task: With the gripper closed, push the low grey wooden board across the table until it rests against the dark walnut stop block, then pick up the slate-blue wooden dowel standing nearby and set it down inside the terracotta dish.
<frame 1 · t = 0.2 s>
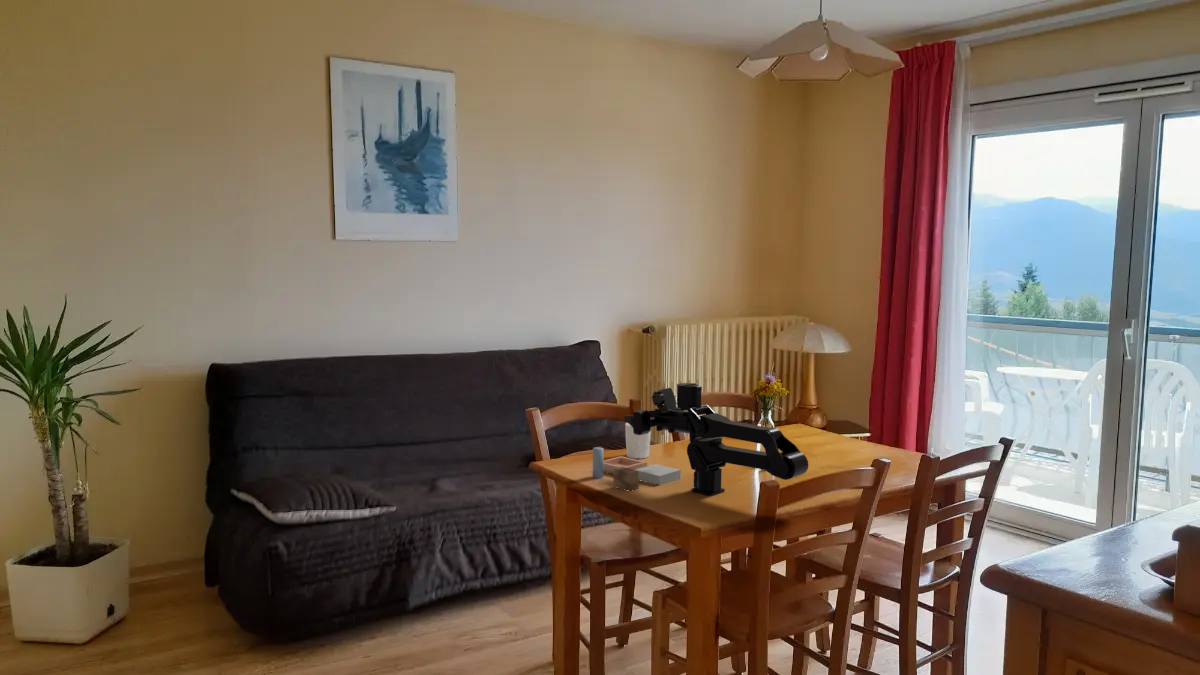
hand: (635, 415, 229), 17 cm above the table, tool horizontal, fingers open, 9 cm apart
plate: (657, 480, 224), on the table
stop block: (625, 488, 215), on the table
dowel: (598, 476, 226), on the table
white cup: (637, 456, 250), on the table
tray: (622, 470, 233), on the table
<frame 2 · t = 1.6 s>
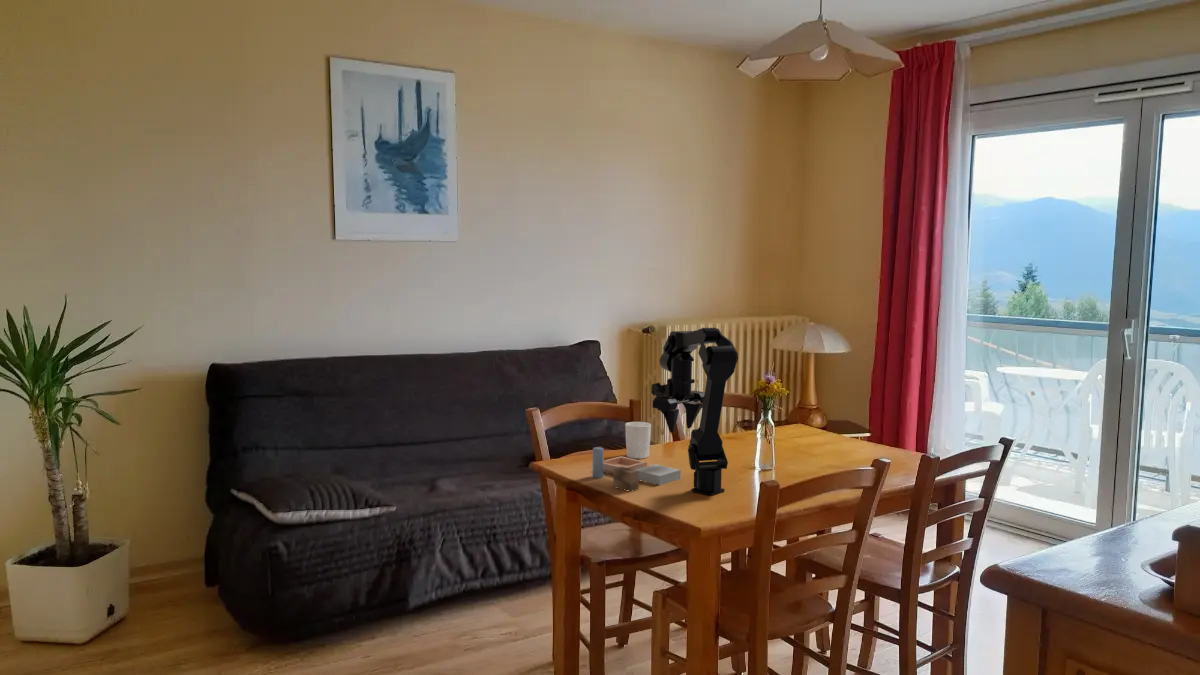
hand: (680, 430, 230), 12 cm above the table, tool pointing down, fingers open, 8 cm apart
nothing on the table moved.
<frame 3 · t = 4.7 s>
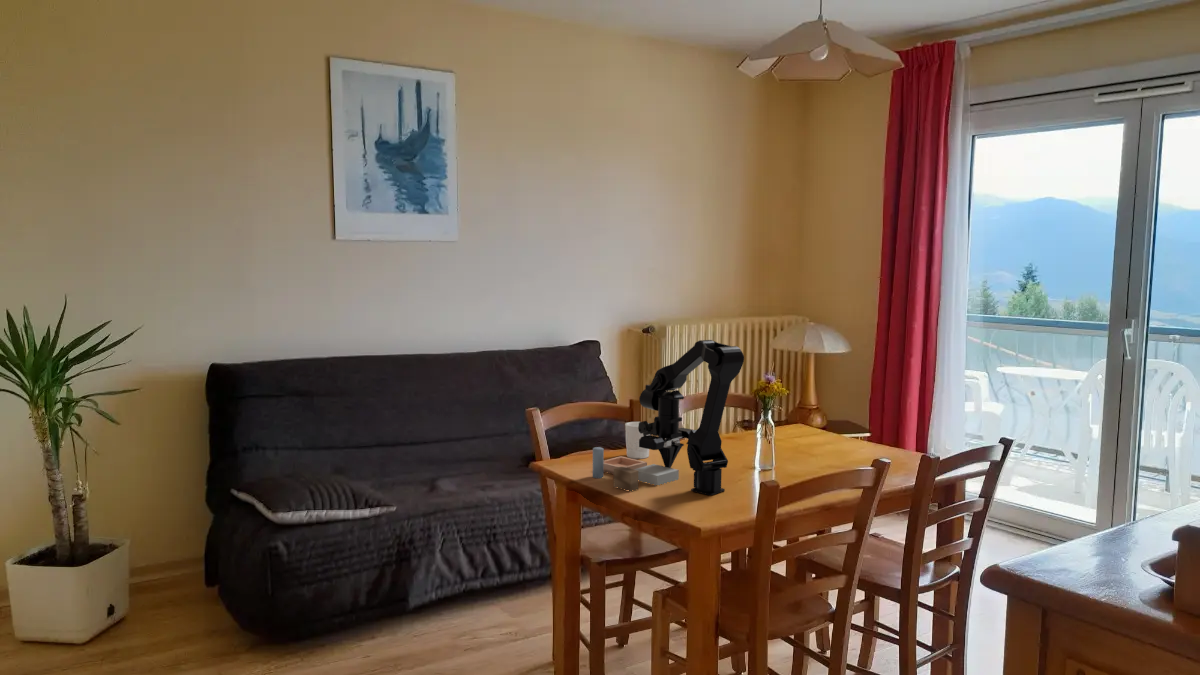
hand: (667, 468, 227), 2 cm above the table, tool pointing down, fingers closed
plate: (655, 480, 224), on the table, touching gripper
everything else where it was.
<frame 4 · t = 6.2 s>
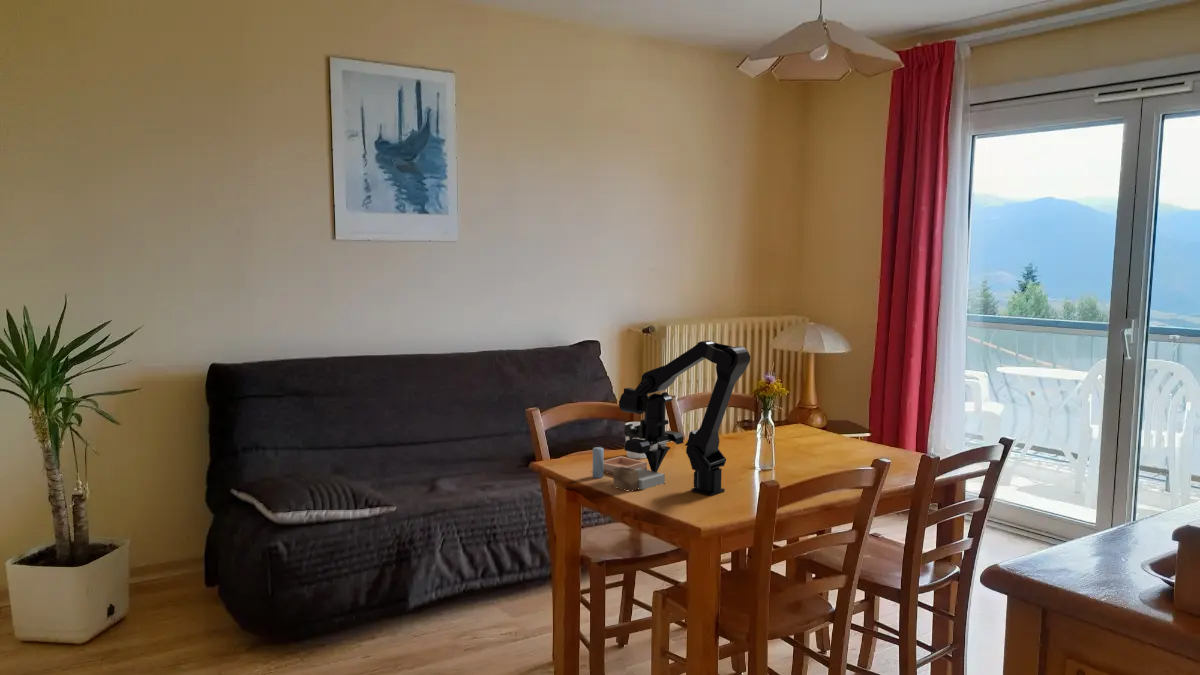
hand: (654, 472, 223), 2 cm above the table, tool pointing down, fingers closed
plate: (640, 485, 220), on the table
everything else where it was.
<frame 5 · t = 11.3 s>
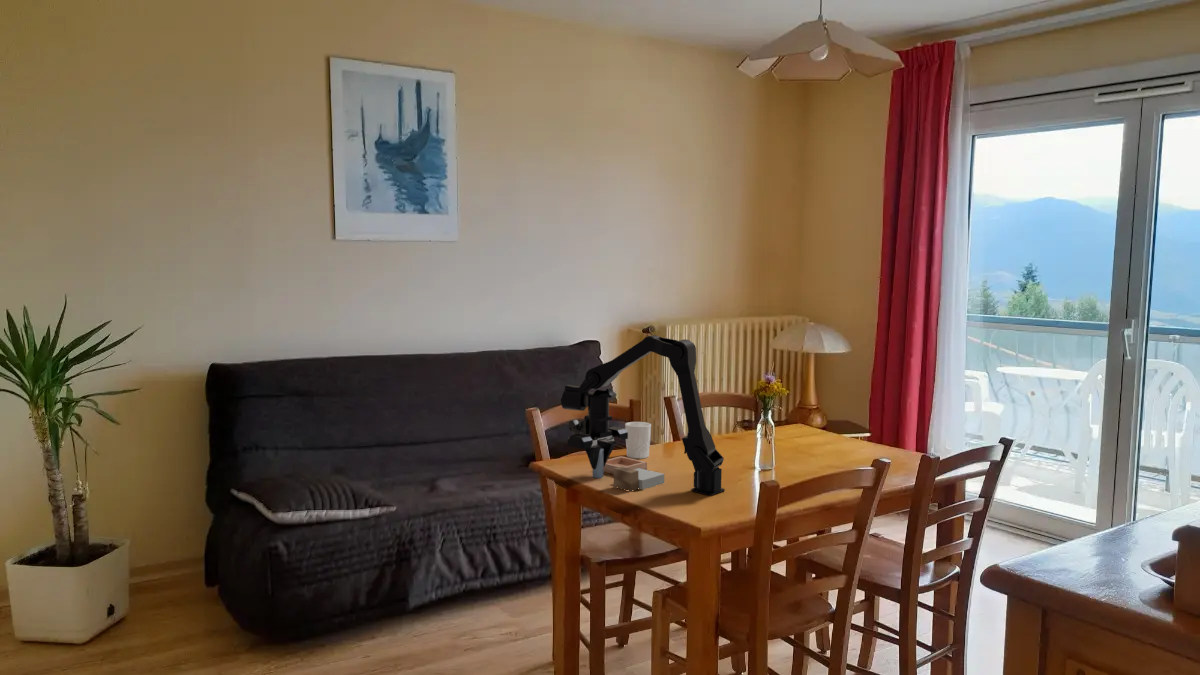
hand: (598, 467, 226), 3 cm above the table, tool pointing down, fingers closed on dowel, 3 cm apart
dowel: (597, 476, 226), on the table, touching gripper
everything else where it was.
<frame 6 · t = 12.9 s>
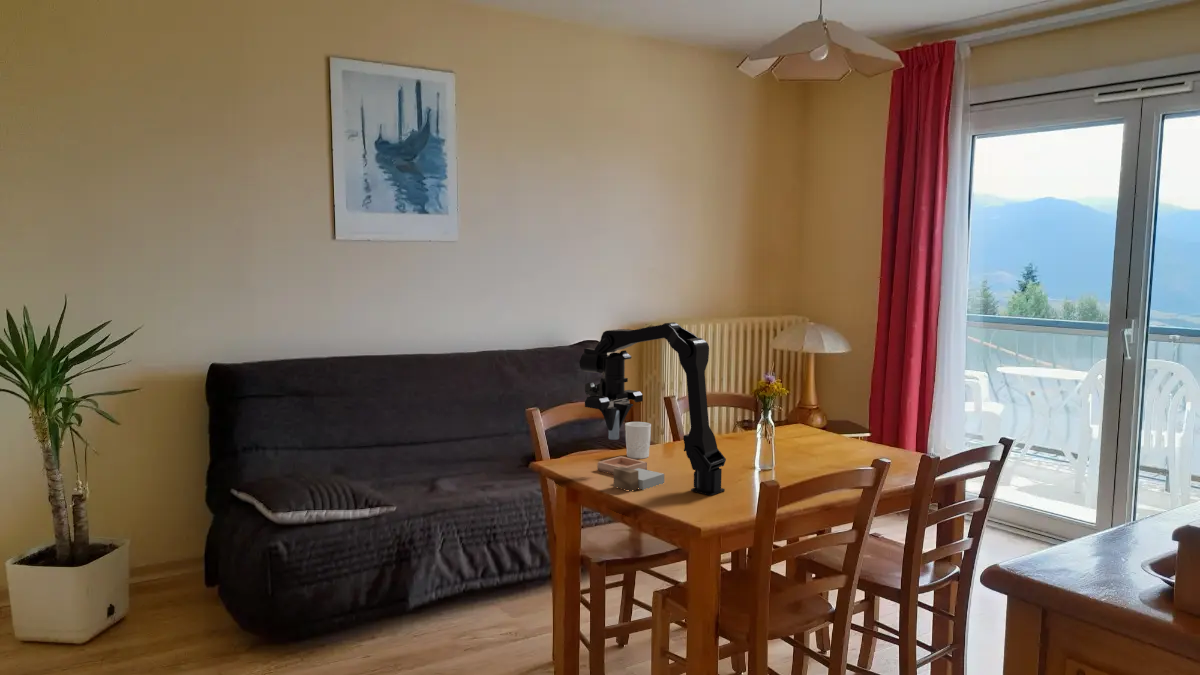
hand: (614, 429, 229), 12 cm above the table, tool pointing down, fingers closed on dowel, 3 cm apart
dowel: (613, 438, 229), point 10 cm above the table, touching gripper
everything else where it was.
when the fingers open (5 cm above the table, at t = 14.8 s): dowel drops 2 cm, resting on tray.
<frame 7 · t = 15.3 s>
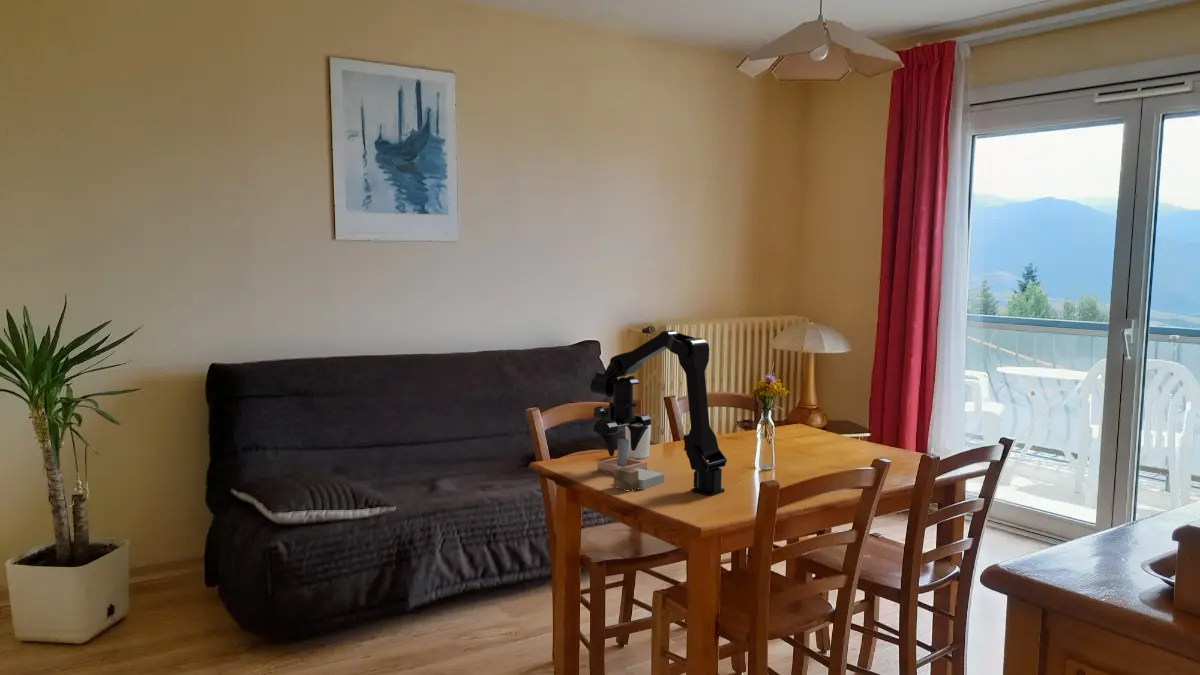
hand: (622, 453, 233), 5 cm above the table, tool pointing down, fingers open, 9 cm apart
dowel: (622, 467, 233), point 1 cm above the table, touching tray
everything else where it was.
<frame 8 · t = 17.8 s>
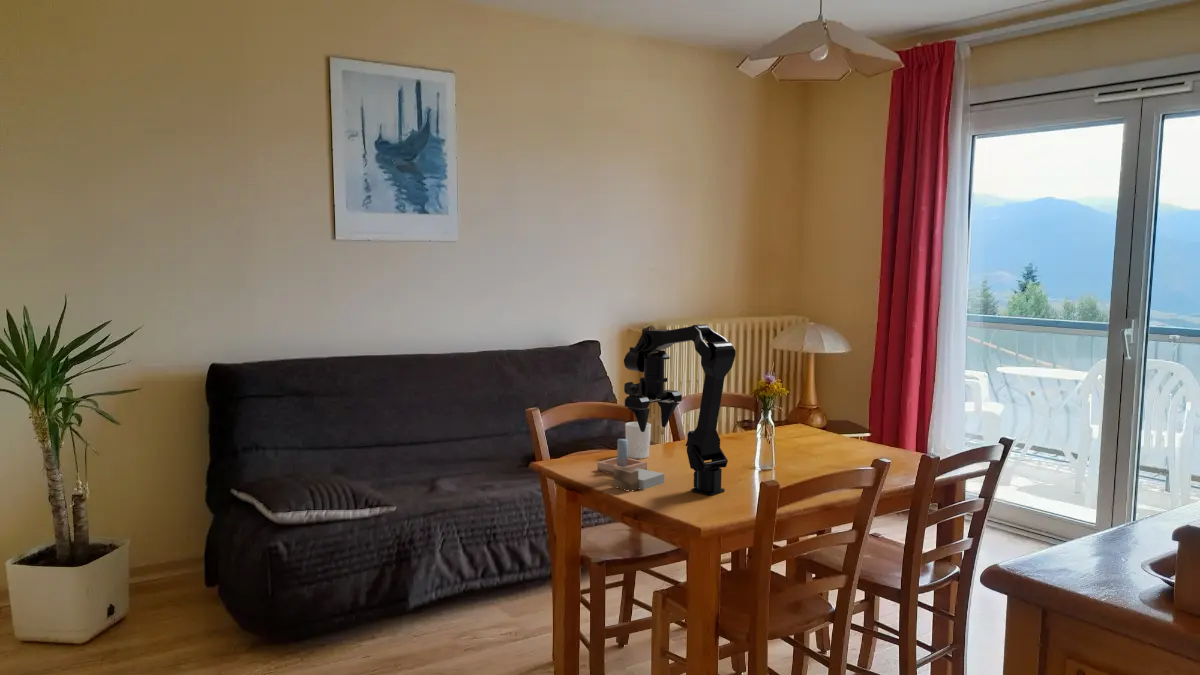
hand: (653, 429, 229), 13 cm above the table, tool pointing down, fingers open, 9 cm apart
nothing on the table moved.
at the end: plate inside the target area (0.5 cm from its centre), on the table; dowel inside the target area on the tray (0.0 cm from its centre), point 0.8 cm above the tray's base; dowel tilted 1° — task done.
